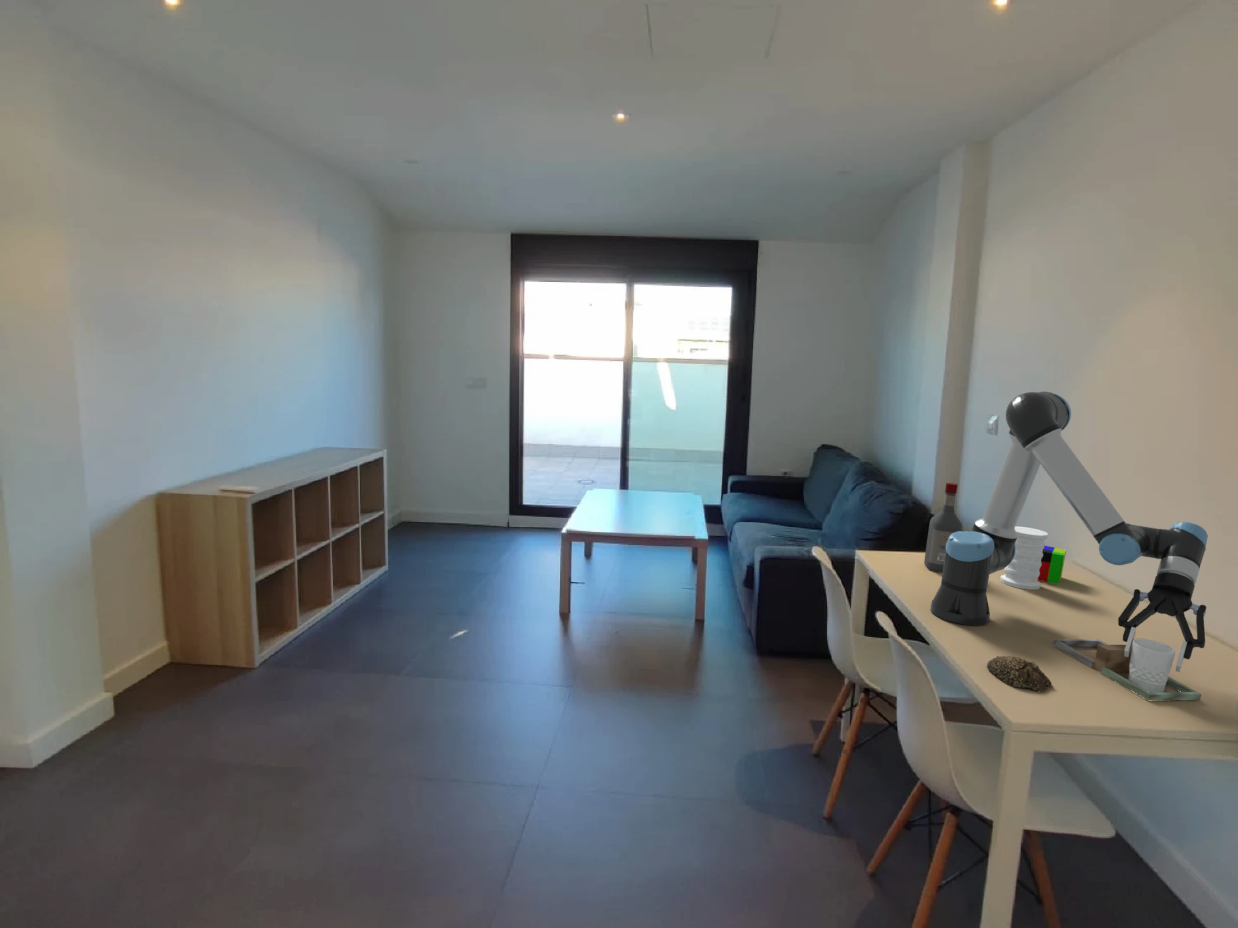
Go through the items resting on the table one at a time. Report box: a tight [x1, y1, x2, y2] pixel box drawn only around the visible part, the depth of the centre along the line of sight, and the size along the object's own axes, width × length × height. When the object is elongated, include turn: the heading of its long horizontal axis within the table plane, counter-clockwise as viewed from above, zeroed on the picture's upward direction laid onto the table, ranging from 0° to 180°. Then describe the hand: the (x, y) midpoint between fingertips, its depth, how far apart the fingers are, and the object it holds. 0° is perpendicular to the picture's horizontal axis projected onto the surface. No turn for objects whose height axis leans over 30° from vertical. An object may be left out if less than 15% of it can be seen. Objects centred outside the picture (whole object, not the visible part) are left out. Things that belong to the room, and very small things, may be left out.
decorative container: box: [999, 525, 1049, 591], centre depth 233 cm, size 12×12×18 cm
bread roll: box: [986, 655, 1052, 693], centre depth 164 cm, size 13×12×5 cm
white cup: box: [1127, 638, 1177, 692], centre depth 163 cm, size 8×8×10 cm
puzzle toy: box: [1038, 545, 1067, 585], centre depth 243 cm, size 10×10×10 cm
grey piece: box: [1051, 638, 1202, 702], centre depth 171 cm, size 13×29×6 cm, turn 8°
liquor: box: [923, 482, 963, 573], centre depth 243 cm, size 9×9×30 cm
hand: (1151, 661), depth 161 cm, fingers open, 9 cm apart
